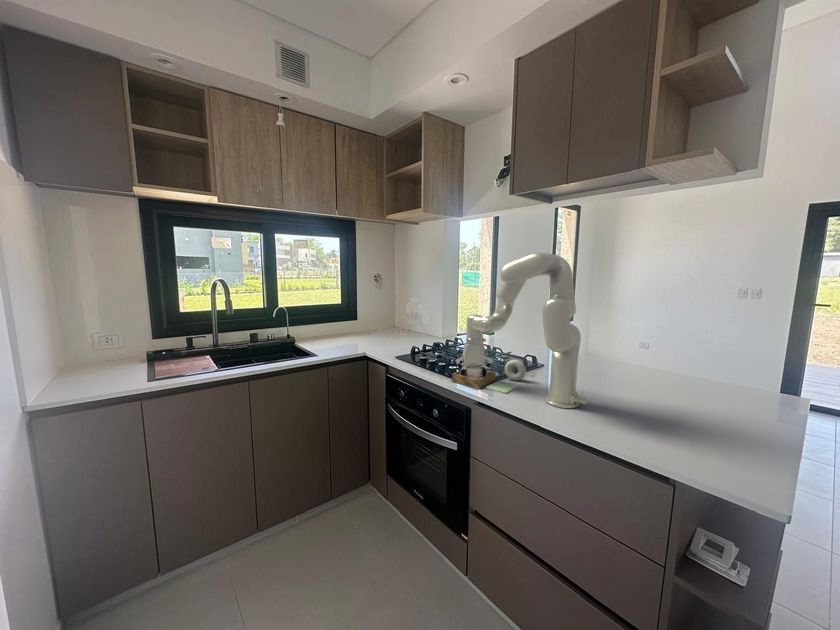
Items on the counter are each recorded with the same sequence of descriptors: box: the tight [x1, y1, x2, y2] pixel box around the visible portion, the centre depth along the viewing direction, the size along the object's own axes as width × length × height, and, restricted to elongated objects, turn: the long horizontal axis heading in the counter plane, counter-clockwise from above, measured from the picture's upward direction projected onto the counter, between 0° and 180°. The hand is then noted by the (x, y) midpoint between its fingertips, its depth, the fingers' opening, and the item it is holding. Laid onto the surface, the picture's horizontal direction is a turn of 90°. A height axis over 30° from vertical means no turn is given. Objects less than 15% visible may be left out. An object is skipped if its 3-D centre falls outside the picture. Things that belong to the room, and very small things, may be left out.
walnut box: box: [451, 367, 496, 390], centre depth 159 cm, size 15×15×4 cm
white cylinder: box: [466, 366, 482, 379], centre depth 159 cm, size 7×7×7 cm
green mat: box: [484, 381, 517, 395], centre depth 150 cm, size 10×10×1 cm
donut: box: [504, 359, 527, 381], centre depth 160 cm, size 10×4×10 cm, turn 58°
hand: (473, 376), depth 159 cm, fingers open, 9 cm apart
